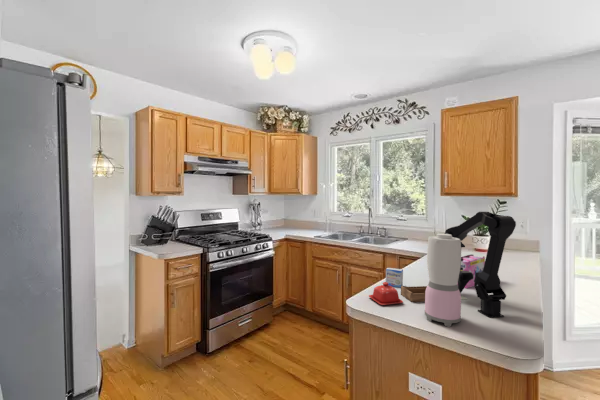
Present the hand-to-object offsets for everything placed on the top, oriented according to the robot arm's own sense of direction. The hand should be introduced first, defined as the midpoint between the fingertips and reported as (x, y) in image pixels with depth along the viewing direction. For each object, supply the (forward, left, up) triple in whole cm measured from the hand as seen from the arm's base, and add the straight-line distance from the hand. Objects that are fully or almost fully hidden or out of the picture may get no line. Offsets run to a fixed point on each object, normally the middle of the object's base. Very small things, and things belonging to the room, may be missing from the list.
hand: (453, 289), depth 134 cm
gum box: (+19, -22, -4) cm, 29 cm away
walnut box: (0, +16, -3) cm, 17 cm away
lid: (0, +2, -4) cm, 4 cm away
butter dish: (-2, +34, -4) cm, 34 cm away
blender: (-22, +19, -4) cm, 29 cm away
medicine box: (+18, +20, -4) cm, 27 cm away
